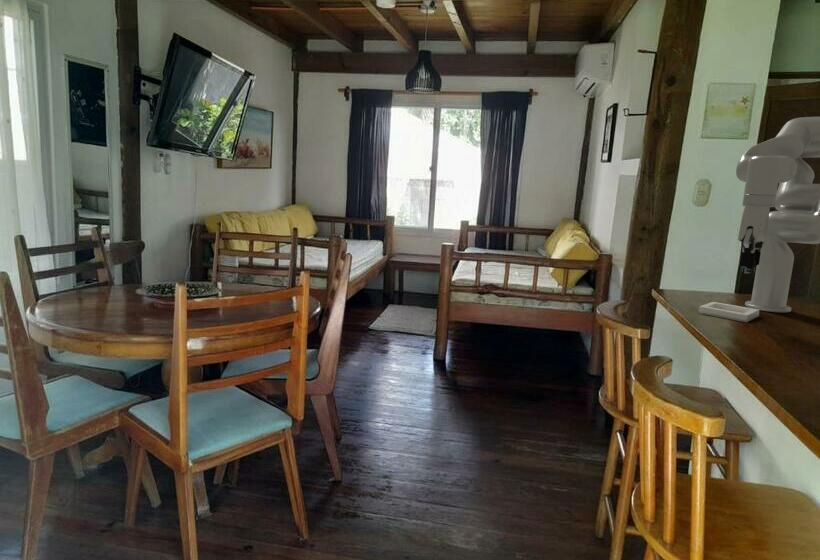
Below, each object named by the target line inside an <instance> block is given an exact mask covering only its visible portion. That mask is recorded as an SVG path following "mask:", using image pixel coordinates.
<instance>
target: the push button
mask: <svg viewBox="0 0 820 560" xmlns="http://www.w3.org/2000/svg"><path fill="white" fill-rule="evenodd" d="M754 239H755V238H754ZM750 241H751V242H754V240H750ZM740 242H741V247H743V244H744V243H743V242H744V241H740ZM763 244H764V242H757V243H756V247H755V249H759V248H762V245H763ZM751 245H752V246H753V244H751ZM754 253H755V251H754ZM755 264H756V260H754V266H753V267H752V268H751V267H743V266H741V268H742V269H741V272H743V274H746V275H752V273H753V274H754V273H756V267H755V266H756V265H755Z"/></svg>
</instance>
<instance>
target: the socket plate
mask: <svg viewBox="0 0 820 560" xmlns="http://www.w3.org/2000/svg"><path fill="white" fill-rule="evenodd" d="M697 312H698V314H701V315H705V316H706V315H707V316H711V317H716V318H721V319H725V320H732V321H738V322H743V323H748V322H749V321H752V320H754V319H756V318H758V317H759V316H760V310H758V309H753V308H750V307H747V306H741V305H740V306H739V305H735V304H734V305H733V304H730V303H729V304H727V303H722V302H717V301H716V302H715V301H711V302H709V303H708V302H707V303H705V304H701V305H700V306H698V311H697Z"/></svg>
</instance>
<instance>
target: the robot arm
mask: <svg viewBox="0 0 820 560" xmlns="http://www.w3.org/2000/svg"><path fill="white" fill-rule="evenodd" d="M802 158H808V159H809V158H810V159H811V158H820V116H805V117H804V116H803V117H796V118H792V119H790V120H789V121H787V122H786V123H785V124H784V125H783V126H782V128H781V129H780V131H779V132H778V133H777V134H776V136H775V137H773V138H770V139H768V140H766V141H763V142H760V143H758V144H757V143H756V144H755V145H752V146H751V147H749V148H748V149H747V150H746V151H745V152H744V153H743V154H742V155H741V157H740V158H739V161H738V162H737V165H736V167H735V168H736V171H735V175H736V177H737V179H738V180H739V181H740V182H743V183H745V185H744V192H743V199H742V207H744V208H743V212H742V216H741V221H740V225H739V230H738V236H737V240H738V242H741V241H744V242H743V243H744V244H743V246H742V248H741V249H742V250H741V255H740V263H739V266H740V267H743V268H745V267H751V268H752V267H753V266H754V260H756V264H755V266H756V267H755V266H754V267H755V273H754V275H755V276H754V281H753V286H752V287H753V288H752V292H751V293H752V294H751V299H750V300H747V301H745V302H744V306H745V307H747V308H752V309H758V310H759V311H764V312H771V313H790V312H792V307H791V306H789V305H788V304H787V303H788V296H789V291H790V285H791V279H792V272H793V267H794V262H795V261H794V260H795V254H794V253H793V250H792V249H791V248H790V246H789V245H788V243H793V244H795V243H797V244H807V245H808V244H810V245H819V244H820V183H813V181H814V179H815V176H816V175H815V172H814V170H813V168H812V167H811V166H810V165H809V164H808V163H807V162H806V161H805V160H803V159H802ZM771 208H775V210H773V211H770V210H771ZM754 238H755V239H754ZM750 240H754V242H751V241H750ZM757 242H764V244H763V245H762V248H759V249H755V247H756V243H757ZM751 244H753V246H752V245H751ZM754 251H755V253H754Z"/></svg>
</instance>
